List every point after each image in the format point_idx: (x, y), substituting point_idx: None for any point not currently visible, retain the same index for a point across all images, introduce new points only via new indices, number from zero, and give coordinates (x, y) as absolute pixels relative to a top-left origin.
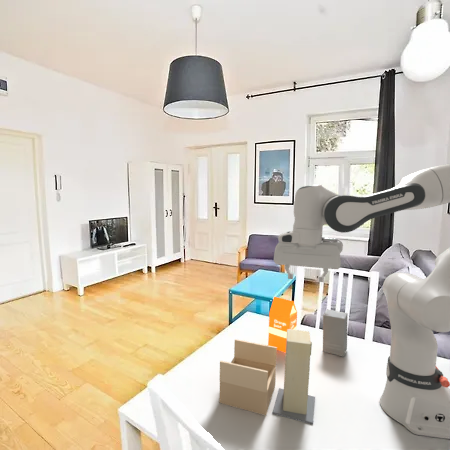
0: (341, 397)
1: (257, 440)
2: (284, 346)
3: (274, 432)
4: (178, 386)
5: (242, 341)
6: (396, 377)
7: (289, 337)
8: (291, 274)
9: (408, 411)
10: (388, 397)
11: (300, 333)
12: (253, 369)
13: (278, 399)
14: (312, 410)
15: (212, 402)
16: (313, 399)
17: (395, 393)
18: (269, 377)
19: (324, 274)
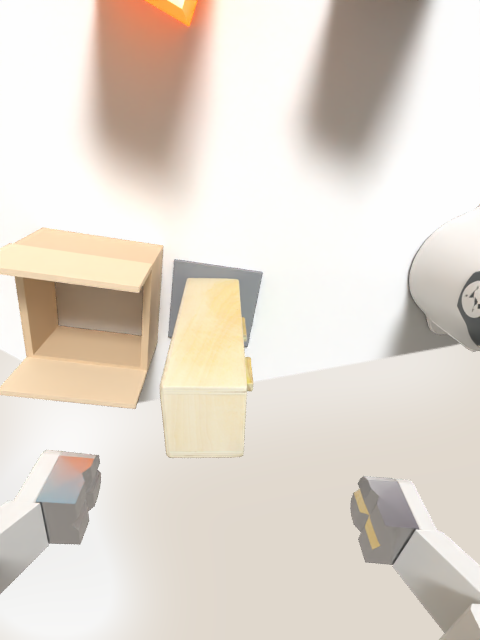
0: (327, 254)
1: (152, 392)
2: (169, 9)
3: None
4: None
5: (6, 274)
6: (473, 337)
7: (173, 439)
8: (69, 539)
9: (447, 332)
10: (432, 294)
11: (212, 407)
12: (97, 404)
13: (176, 300)
14: (250, 316)
15: None
16: (257, 283)
17: (449, 315)
18: (143, 324)
19: (429, 602)
